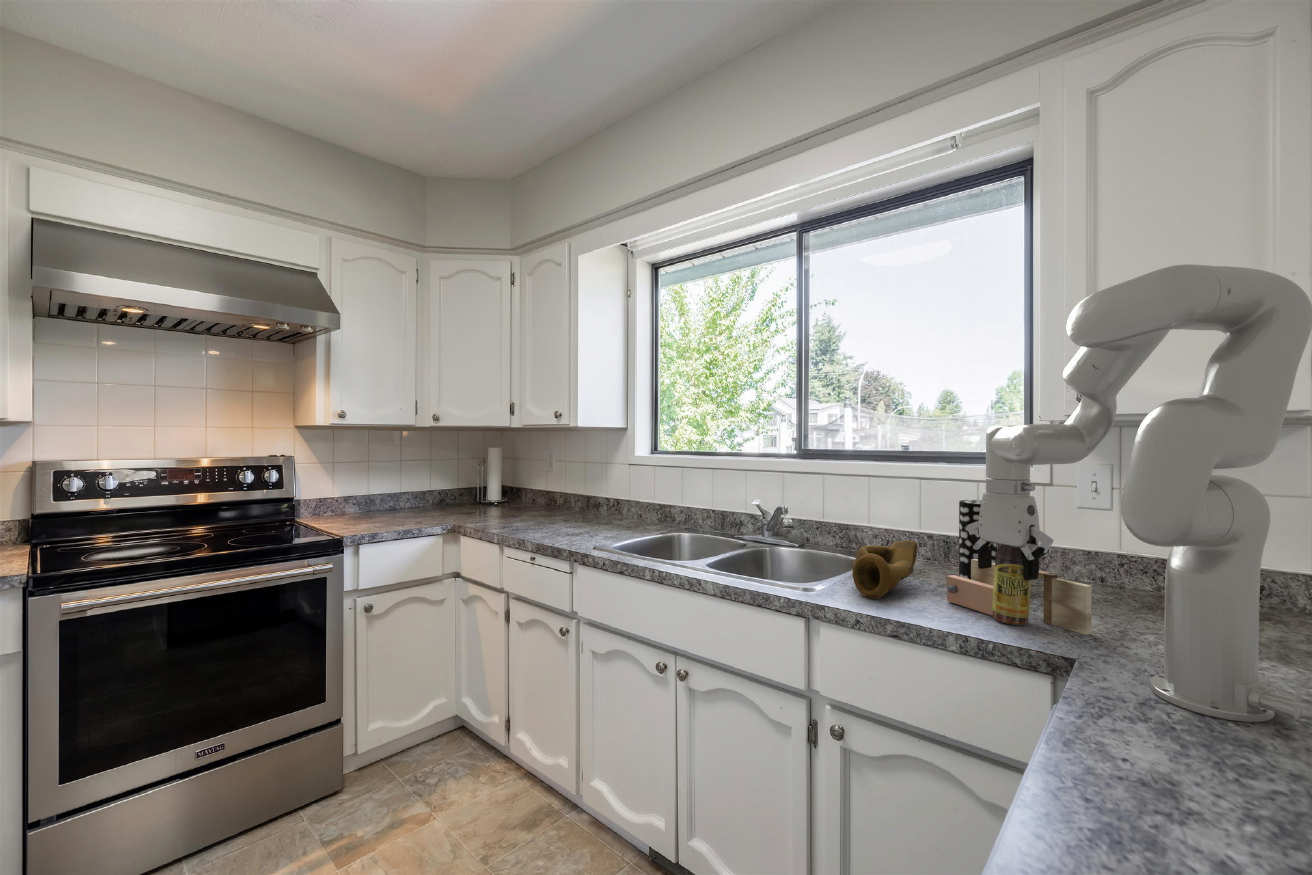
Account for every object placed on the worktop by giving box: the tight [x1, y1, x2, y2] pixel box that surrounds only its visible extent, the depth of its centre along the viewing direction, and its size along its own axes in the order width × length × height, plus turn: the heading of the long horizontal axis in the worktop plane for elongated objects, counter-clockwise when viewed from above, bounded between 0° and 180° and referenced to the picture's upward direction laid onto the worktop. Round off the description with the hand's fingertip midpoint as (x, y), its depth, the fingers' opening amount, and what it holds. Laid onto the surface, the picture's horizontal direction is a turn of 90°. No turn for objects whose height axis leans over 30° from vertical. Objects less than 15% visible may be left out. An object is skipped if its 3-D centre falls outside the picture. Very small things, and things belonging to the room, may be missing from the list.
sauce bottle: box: [992, 544, 1032, 626], centre depth 114 cm, size 6×6×20 cm
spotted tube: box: [958, 499, 999, 580], centre depth 142 cm, size 8×8×20 cm
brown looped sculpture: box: [851, 539, 918, 600], centre depth 139 cm, size 18×13×22 cm
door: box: [946, 574, 993, 617], centre depth 122 cm, size 11×3×6 cm, turn 22°
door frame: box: [971, 559, 1093, 636], centre depth 118 cm, size 24×2×10 cm, turn 22°
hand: (1007, 573), depth 115 cm, fingers open, 9 cm apart
